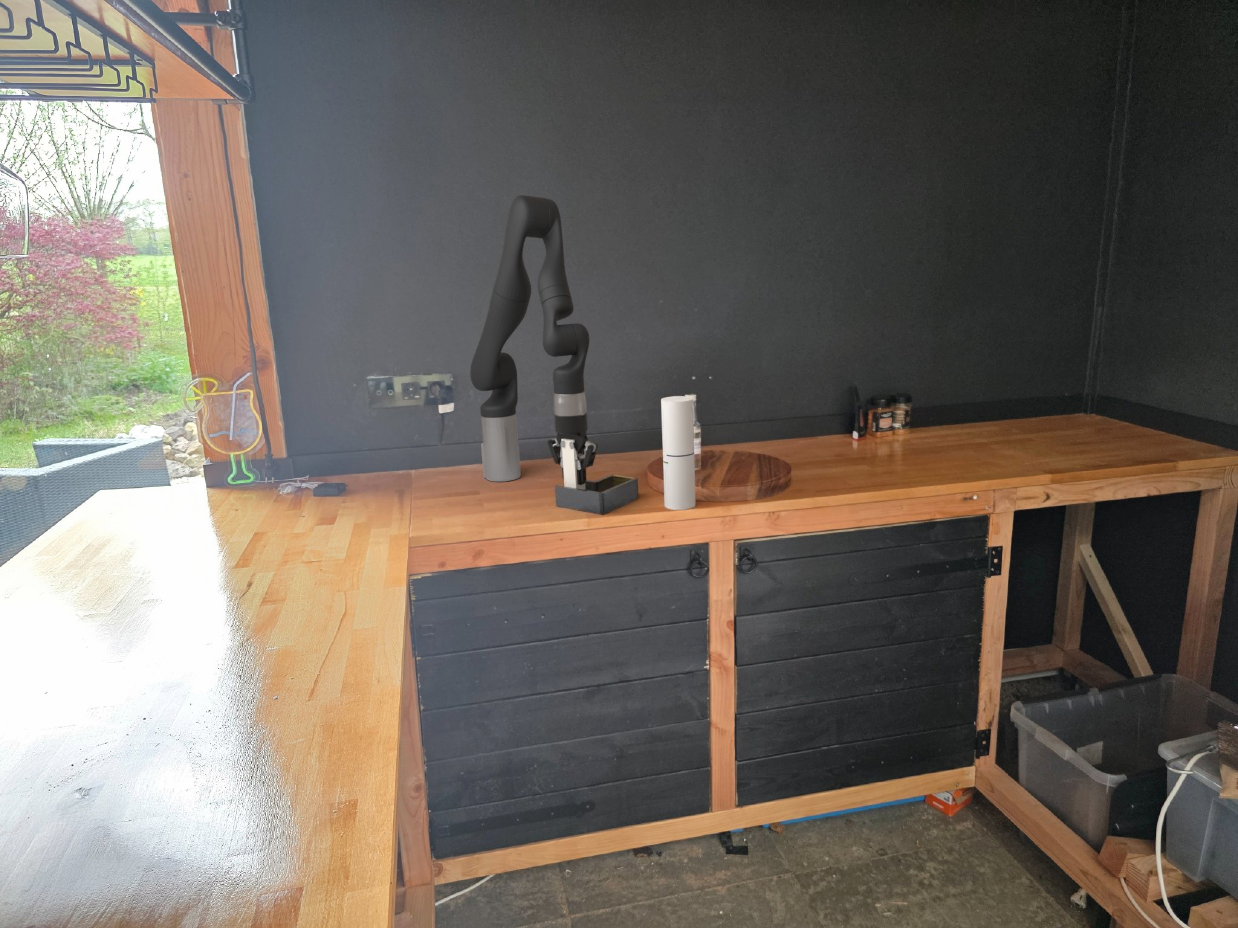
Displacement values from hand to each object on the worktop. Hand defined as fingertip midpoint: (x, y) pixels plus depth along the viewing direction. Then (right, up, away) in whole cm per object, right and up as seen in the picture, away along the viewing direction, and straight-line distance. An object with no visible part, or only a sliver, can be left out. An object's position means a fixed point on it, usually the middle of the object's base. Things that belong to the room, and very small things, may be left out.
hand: (574, 482), depth 199 cm
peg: (0, -5, +1) cm, 5 cm away
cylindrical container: (+25, -5, -3) cm, 25 cm away
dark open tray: (+5, -5, +2) cm, 7 cm away
